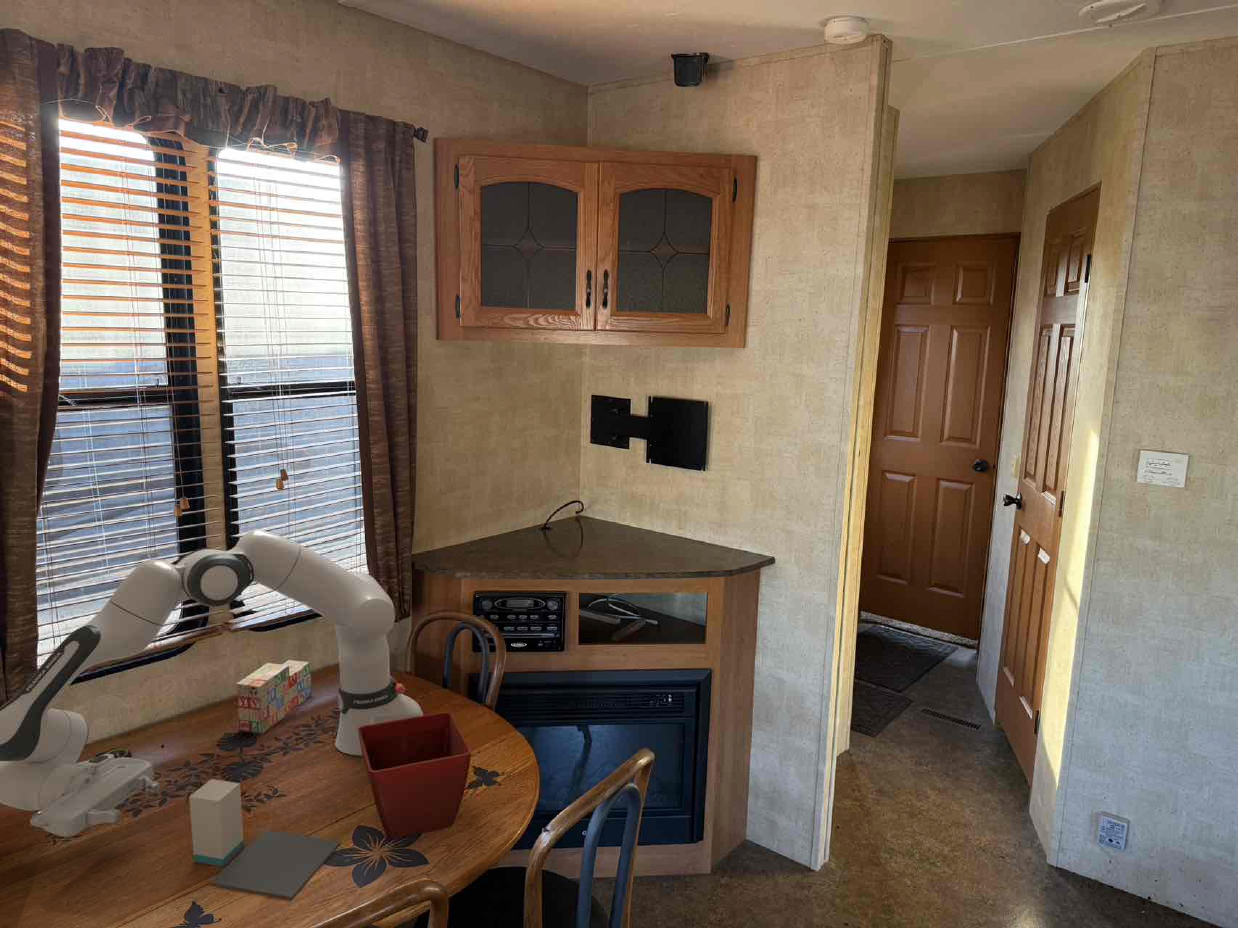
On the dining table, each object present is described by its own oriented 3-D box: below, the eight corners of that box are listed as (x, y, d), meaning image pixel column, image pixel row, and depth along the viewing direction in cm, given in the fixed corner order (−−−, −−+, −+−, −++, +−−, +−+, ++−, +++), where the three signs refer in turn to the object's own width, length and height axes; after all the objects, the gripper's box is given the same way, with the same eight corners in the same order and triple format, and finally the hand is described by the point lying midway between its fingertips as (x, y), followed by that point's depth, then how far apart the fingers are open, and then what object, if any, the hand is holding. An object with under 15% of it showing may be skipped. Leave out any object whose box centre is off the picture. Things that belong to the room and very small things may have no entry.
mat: (209, 884, 152) (209, 882, 152) (264, 831, 168) (264, 829, 168) (291, 899, 149) (291, 896, 149) (340, 844, 164) (340, 841, 164)
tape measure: (95, 767, 190) (93, 751, 189) (131, 758, 193) (129, 743, 193) (97, 781, 184) (96, 765, 183) (134, 772, 188) (132, 756, 187)
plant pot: (359, 801, 179) (357, 725, 176) (452, 783, 186) (450, 709, 183) (372, 855, 161) (369, 772, 158) (473, 832, 169) (472, 752, 166)
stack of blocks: (290, 692, 227) (288, 648, 225) (312, 695, 226) (310, 650, 224) (238, 731, 207) (235, 682, 204) (262, 734, 205) (259, 685, 203)
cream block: (215, 842, 164) (211, 779, 162) (243, 846, 163) (239, 783, 161) (194, 861, 159) (189, 796, 156) (223, 866, 157) (218, 801, 155)
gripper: (21, 805, 149) (90, 818, 146) (113, 748, 169) (175, 758, 166) (24, 839, 150) (92, 852, 147) (116, 778, 170) (177, 788, 167)
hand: (137, 802), depth 157 cm, fingers open, 8 cm apart
